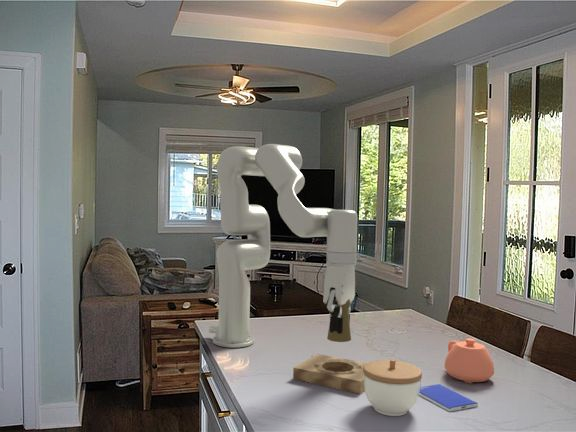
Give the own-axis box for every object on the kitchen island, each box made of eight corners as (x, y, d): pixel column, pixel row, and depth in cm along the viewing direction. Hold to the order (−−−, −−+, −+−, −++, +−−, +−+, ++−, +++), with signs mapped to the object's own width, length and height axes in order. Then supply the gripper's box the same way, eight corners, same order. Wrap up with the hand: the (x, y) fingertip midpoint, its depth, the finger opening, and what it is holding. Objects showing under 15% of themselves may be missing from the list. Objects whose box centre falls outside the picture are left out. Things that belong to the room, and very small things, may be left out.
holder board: (293, 379, 138) (293, 367, 138) (317, 364, 150) (317, 353, 150) (360, 393, 130) (360, 381, 129) (380, 377, 142) (380, 365, 142)
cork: (353, 337, 141) (354, 294, 141) (348, 343, 136) (349, 298, 135) (330, 334, 143) (331, 292, 143) (324, 340, 138) (325, 296, 137)
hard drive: (414, 387, 132) (449, 407, 121) (440, 383, 135) (478, 402, 124) (413, 394, 132) (449, 414, 121) (440, 389, 136) (477, 408, 124)
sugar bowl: (469, 389, 135) (470, 348, 135) (429, 371, 148) (431, 334, 147) (504, 382, 141) (506, 343, 140) (463, 366, 153) (465, 329, 153)
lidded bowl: (408, 426, 112) (410, 373, 112) (352, 412, 119) (354, 361, 118) (427, 407, 123) (430, 358, 122) (375, 394, 130) (377, 348, 129)
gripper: (340, 254, 148) (339, 322, 148) (313, 260, 133) (311, 335, 134) (367, 256, 144) (365, 326, 145) (342, 263, 129) (340, 340, 130)
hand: (339, 330), depth 139 cm, fingers closed on cork, 3 cm apart
